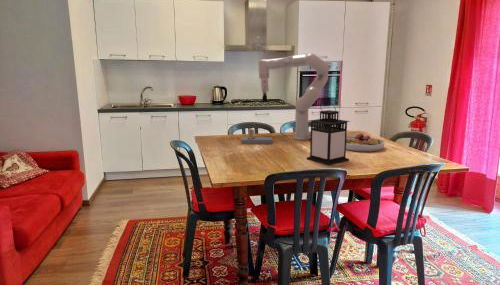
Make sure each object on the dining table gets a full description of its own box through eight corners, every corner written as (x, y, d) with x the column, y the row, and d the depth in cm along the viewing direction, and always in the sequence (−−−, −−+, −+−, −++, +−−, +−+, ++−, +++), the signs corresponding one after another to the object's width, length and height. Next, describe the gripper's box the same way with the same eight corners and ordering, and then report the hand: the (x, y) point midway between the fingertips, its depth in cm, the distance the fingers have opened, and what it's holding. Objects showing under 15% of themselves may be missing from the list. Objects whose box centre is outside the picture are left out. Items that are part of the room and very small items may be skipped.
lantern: (348, 160, 213) (351, 100, 206) (328, 165, 203) (331, 102, 196) (326, 155, 227) (328, 98, 220) (306, 159, 217) (308, 100, 210)
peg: (254, 141, 268) (254, 128, 266) (254, 143, 264) (254, 129, 262) (248, 142, 268) (248, 128, 266) (248, 143, 264) (248, 129, 262)
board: (271, 141, 271) (271, 137, 271) (272, 144, 261) (272, 139, 260) (242, 141, 272) (242, 137, 271) (241, 144, 261) (241, 139, 261)
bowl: (387, 153, 230) (388, 141, 229) (338, 152, 236) (339, 140, 235) (380, 144, 259) (381, 133, 257) (337, 142, 265) (337, 132, 263)
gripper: (269, 76, 264) (270, 101, 268) (268, 76, 279) (269, 100, 282) (259, 76, 264) (260, 102, 268) (258, 76, 279) (259, 100, 282)
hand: (264, 101), depth 275 cm, fingers closed
